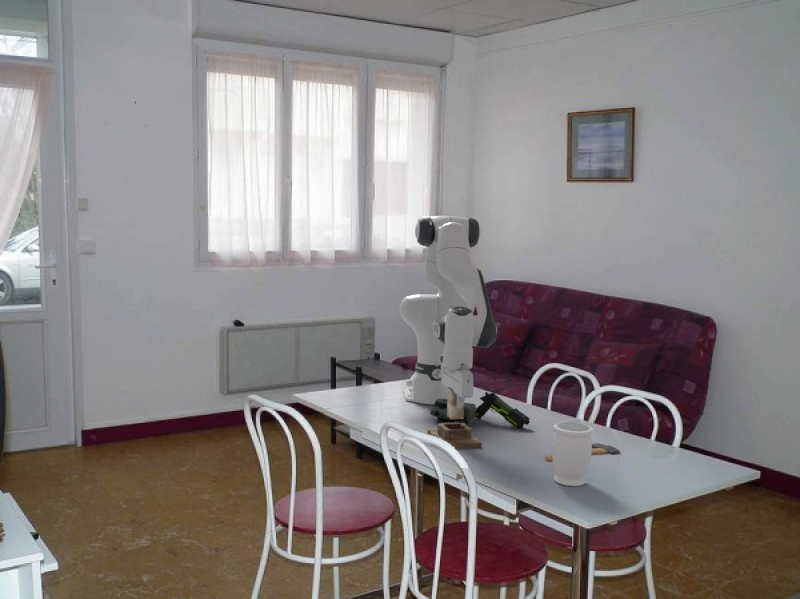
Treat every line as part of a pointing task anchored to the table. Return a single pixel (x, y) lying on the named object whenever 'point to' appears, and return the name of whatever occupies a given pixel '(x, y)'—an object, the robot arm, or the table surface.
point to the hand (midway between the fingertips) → (455, 405)
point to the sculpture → (441, 413)
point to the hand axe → (595, 451)
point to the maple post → (451, 409)
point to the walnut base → (459, 442)
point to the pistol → (501, 410)
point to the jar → (571, 452)
